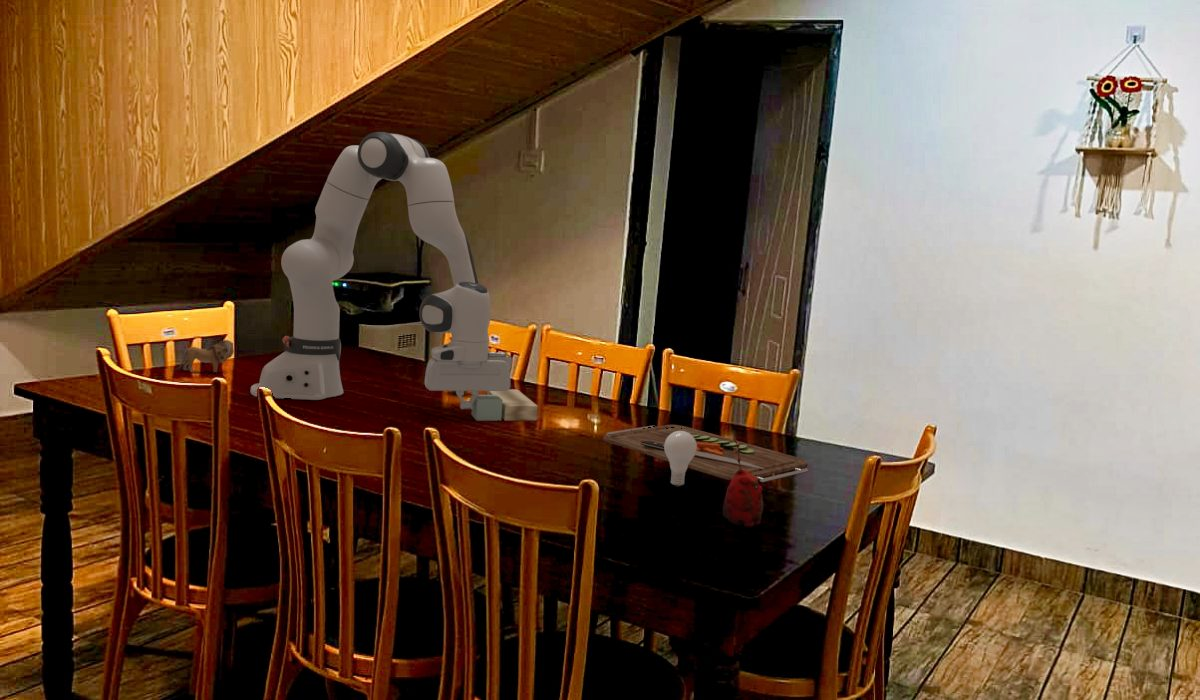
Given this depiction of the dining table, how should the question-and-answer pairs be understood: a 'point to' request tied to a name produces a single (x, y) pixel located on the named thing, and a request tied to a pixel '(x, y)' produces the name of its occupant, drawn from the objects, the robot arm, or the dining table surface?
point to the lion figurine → (208, 355)
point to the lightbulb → (679, 454)
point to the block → (487, 408)
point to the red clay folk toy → (743, 498)
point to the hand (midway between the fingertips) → (466, 408)
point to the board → (516, 405)
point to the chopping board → (711, 452)
